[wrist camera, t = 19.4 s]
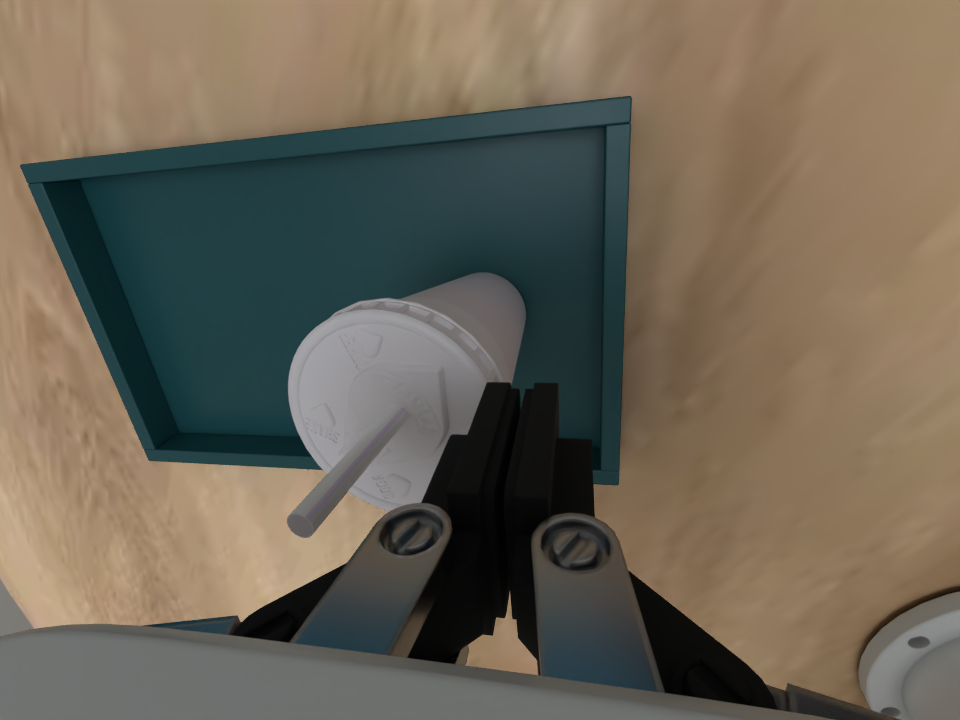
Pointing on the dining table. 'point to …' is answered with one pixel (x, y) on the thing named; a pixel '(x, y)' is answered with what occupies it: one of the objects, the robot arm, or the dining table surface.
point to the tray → (343, 262)
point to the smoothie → (398, 388)
